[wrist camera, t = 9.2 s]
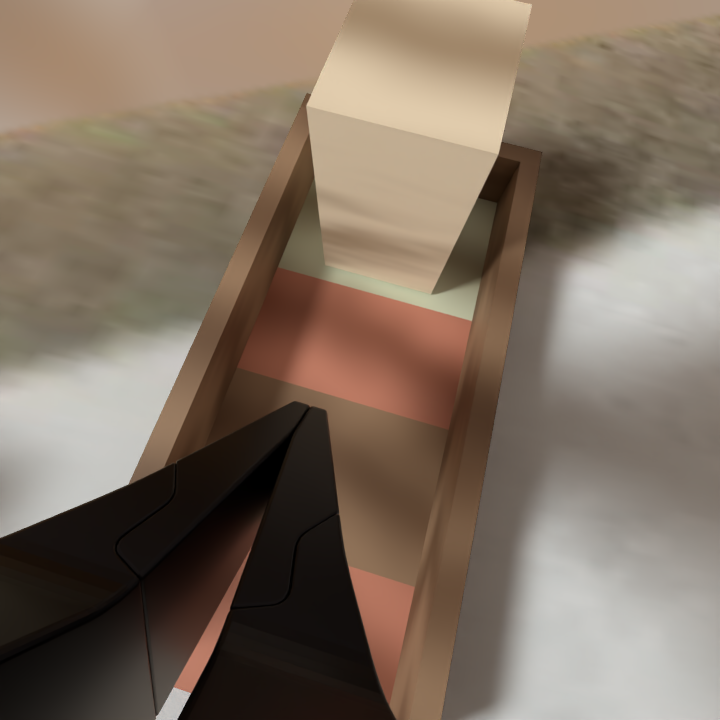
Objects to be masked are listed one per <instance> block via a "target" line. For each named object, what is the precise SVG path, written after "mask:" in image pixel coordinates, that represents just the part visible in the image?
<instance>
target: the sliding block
mask: <svg viewBox="0 0 720 720" xmlns="http://www.w3.org/2000/svg"><path fill="white" fill-rule="evenodd" d="M531 7H532V5H531V4H527V3H522V2H518V1H514V0H354V1H353V3H352V5H351V8H350V10H349V12H348V14H347V17H346V19H345V21H344V23H343V25H342V28H341V30H340V32H339V34H338V36H337V39H336V41H335V43H334V45H333V48H332V50H331V52H330V54H329V56H328V59H327V61H326V63H325V65H324V68H323V70H322V72H321V74H320V77H319V79H318V81H317V83H316V85H315V88H314V90H313V92H312V94H311V97H310V99H309V101H308V103H307V105H306V108H307V116H308V125H309V133H310V142H311V150H312V159H313V167H314V176H315V184H316V193H317V201H318V210H319V218H320V227H321V235H322V244H323V252H324V260H325V265H326V266H330V267H333V268H337V269H341V270H344V271H348V272H352V273H355V274H359V275H363V276H366V277H370V278H373V279H377V280H381V281H384V282H388V283H392V284H395V285H399V286H402V287H406V288H410V289H413V290H417V291H421V292H424V293H428V294H431V293H432V291H433V289H434V287H435V285H436V283H437V281H438V278H439V276H440V274H441V272H442V270H443V268H444V266H445V264H446V262H447V260H448V258H449V256H450V254H451V252H452V250H453V247H454V245H455V243H456V241H457V239H458V237H459V235H460V233H461V231H462V229H463V227H464V225H465V223H466V221H467V218H468V216H469V214H470V212H471V210H472V208H473V206H474V204H475V202H476V200H477V198H478V196H479V194H480V192H481V190H482V187H483V185H484V183H485V181H486V179H487V177H488V175H489V173H490V171H491V169H492V167H493V165H494V163H495V161H496V158H497V156H498V154H499V150H500V145H501V141H502V137H503V132H504V128H505V123H506V119H507V114H508V110H509V105H510V101H511V96H512V92H513V87H514V83H515V79H516V74H517V70H518V65H519V61H520V56H521V52H522V47H523V43H524V38H525V34H526V29H527V25H528V20H529V16H530V12H531Z"/></svg>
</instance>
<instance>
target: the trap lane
mask: <svg viewBox="0 0 720 720" xmlns="http://www.w3.org/2000/svg"><path fill="white" fill-rule="evenodd" d="M310 97H311V94H308V93H307V94H306V96H305V98H304V100H303V103H302V105H301V107H300V109H299V111H298V114H297V116H296V118H295V120H294V122H293V125H292V127H291V129H290V131H289V133H288V136H287V138H286V140H285V142H284V144H283V147H282V149H281V151H280V153H279V155H278V157H277V160H276V162H275V164H274V166H273V168H272V171H271V173H270V175H269V177H268V179H267V182H266V184H265V186H264V188H263V190H262V193H261V195H260V197H259V199H258V201H257V204H256V206H255V208H254V210H253V212H252V215H251V217H250V219H249V221H248V223H247V226H246V228H245V230H244V232H243V234H242V237H241V239H240V241H239V243H238V245H237V247H236V250H235V252H234V254H233V256H232V258H231V261H230V263H229V265H228V267H227V269H226V272H225V274H224V276H223V278H222V280H221V283H220V285H219V287H218V289H217V291H216V294H215V296H214V298H213V300H212V302H211V305H210V307H209V309H208V311H207V313H206V316H205V318H204V320H203V322H202V324H201V326H200V329H199V331H198V333H197V335H196V337H195V340H194V342H193V344H192V346H191V348H190V351H189V353H188V355H187V357H186V359H185V362H184V364H183V366H182V368H181V370H180V373H179V375H178V377H177V379H176V381H175V384H174V386H173V388H172V390H171V392H170V395H169V397H168V399H167V401H166V403H165V405H164V408H163V410H162V412H161V414H160V416H159V419H158V421H157V423H156V425H155V427H154V430H153V432H152V434H151V436H150V438H149V441H148V443H147V445H146V447H145V449H144V452H143V454H142V456H141V458H140V460H139V463H138V465H137V467H136V469H135V471H134V474H133V476H132V478H131V480H130V482H129V484H131V483H133V482H135V481H137V480H139V479H141V478H143V477H145V476H147V475H149V474H151V473H154V472H156V471H158V470H160V469H162V468H163V467H165V466H167V465H169V464H171V463H175V464H176V461H178V460H179V459H181V458H183V457H185V456H187V455H189V454H191V453H193V452H195V451H197V450H199V449H201V448H203V447H205V446H207V445H209V444H211V443H213V442H215V441H217V440H219V439H221V438H223V437H224V436H226V435H228V434H230V433H232V432H234V431H236V430H238V429H240V428H242V427H244V426H246V425H248V424H250V423H252V422H254V421H256V420H258V419H260V418H262V417H264V416H266V415H268V414H269V413H271V412H273V411H275V410H277V409H279V408H281V407H283V406H285V405H287V404H289V403H291V402H293V401H298V402H301V403H305V404H308V405H309V406H310V407H312V406H315V407H318V408H321V409H325V410H326V411H327V415H328V423H329V431H330V439H331V448H332V456H333V464H334V472H335V481H336V489H337V497H338V505H339V515H340V520H341V528H342V535H343V541H344V547H345V554H346V558H347V563H348V567H349V571H350V576H351V580H352V584H353V588H354V591H355V595H356V599H357V603H358V606H359V610H360V614H361V618H362V621H363V625H364V629H365V633H366V636H367V640H368V644H369V648H370V651H371V655H372V658H373V662H374V665H375V669H376V672H377V675H378V678H379V681H380V684H381V687H382V689H383V692H384V694H385V697H386V699H387V702H388V704H389V706H390V708H391V710H392V712H393V714H394V716H395V718H396V719H397V720H441V716H442V710H443V704H444V699H445V693H446V688H447V682H448V676H449V671H450V665H451V660H452V654H453V648H454V643H455V637H456V632H457V626H458V620H459V615H460V609H461V604H462V598H463V592H464V587H465V581H466V576H467V570H468V564H469V559H470V553H471V548H472V542H473V537H474V531H475V525H476V520H477V514H478V509H479V503H480V497H481V492H482V486H483V481H484V475H485V469H486V464H487V458H488V453H489V447H490V441H491V436H492V430H493V425H494V419H495V413H496V408H497V402H498V397H499V391H500V385H501V380H502V374H503V369H504V363H505V357H506V352H507V346H508V341H509V335H510V329H511V324H512V318H513V313H514V307H515V301H516V296H517V290H518V285H519V279H520V273H521V268H522V262H523V257H524V251H525V245H526V240H527V234H528V229H529V223H530V217H531V212H532V206H533V201H534V195H535V189H536V184H537V178H538V173H539V167H540V161H541V156H542V152H540V151H536V150H532V149H528V148H524V147H520V146H516V145H512V144H508V143H504V142H501V145H500V150H499V154H498V156H497V158H496V161H495V163H494V165H493V167H492V169H491V171H490V173H489V175H488V177H487V179H486V181H485V183H484V185H483V187H482V190H481V192H480V194H479V196H478V198H477V200H476V202H475V204H474V206H473V208H472V210H471V212H470V214H469V216H468V218H467V221H466V223H465V225H464V227H463V229H462V231H461V233H460V235H459V237H458V239H457V241H456V243H455V245H454V247H453V250H452V252H451V254H450V256H449V258H448V260H447V262H446V264H445V266H444V268H443V270H442V272H441V274H440V276H439V278H438V281H437V283H436V285H435V287H434V289H433V291H432V293H431V294H428V293H424V292H421V291H417V290H413V289H410V288H406V287H402V286H399V285H395V284H392V283H388V282H384V281H381V280H377V279H373V278H370V277H366V276H363V275H359V274H355V273H352V272H348V271H344V270H341V269H337V268H333V267H330V266H326V265H325V260H324V252H323V244H322V235H321V227H320V218H319V210H318V201H317V193H316V184H315V176H314V167H313V159H312V150H311V142H310V133H309V125H308V116H307V108H306V105H307V103H308V101H309V99H310ZM129 484H128V485H129ZM251 548H252V547H251ZM250 550H251V549H250ZM249 553H250V551H249V552H248V554H247V556H246V558H245V560H244V561H243V563H242V565H241V567H240V569H239V570H238V572H237V574H236V576H235V578H234V579H233V581H232V583H231V585H230V586H229V588H228V590H227V592H226V594H225V595H224V597H223V599H222V601H221V603H220V604H219V606H218V608H217V610H216V612H215V613H214V615H213V617H212V619H211V621H210V622H209V624H208V626H207V628H206V630H205V631H204V633H203V635H202V637H201V639H200V640H199V642H198V644H197V646H196V648H195V649H194V651H193V653H192V655H191V657H190V658H189V660H188V662H187V664H186V665H185V667H184V669H183V671H182V673H181V674H180V676H179V678H178V680H177V682H176V683H175V685H174V687H175V688H178V689H181V690H184V691H187V692H190V693H192V691H193V689H194V687H195V685H196V683H197V681H198V679H199V677H200V675H201V674H202V672H203V670H204V668H205V666H206V664H207V662H208V660H209V658H210V656H211V654H212V652H213V650H214V647H215V645H216V643H217V640H218V638H219V635H220V633H221V630H222V628H223V625H224V623H225V620H226V617H227V614H228V612H229V611H230V606H231V603H232V600H233V598H234V595H235V592H236V589H237V586H238V584H239V581H240V578H241V575H242V573H243V570H244V567H245V564H246V562H247V559H248V556H249Z"/></svg>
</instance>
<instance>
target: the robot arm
mask: <svg viewBox="0 0 720 720" xmlns="http://www.w3.org/2000/svg"><path fill="white" fill-rule="evenodd" d="M251 547H252V548H251ZM250 549H251V550H250ZM249 551H250V553H249V556H248V559H247V562H246V564H245V567H244V570H243V573H242V575H241V578H240V581H239V584H238V586H237V589H236V592H235V595H234V598H233V600H232V603H231V606H230V611H229V612H228V614H227V617H226V620H225V623H224V625H223V628H222V630H221V633H220V635H219V638H218V640H217V643H216V645H215V647H214V650H213V652H212V654H211V656H210V658H209V660H208V662H207V664H206V666H205V668H204V670H203V672H202V674H201V675H200V677H199V679H198V681H197V683H196V685H195V687H194V689H193V691H192V693H191V695H190V697H189V698H188V700H187V702H186V704H185V706H184V708H183V710H182V712H181V714H180V716H179V718H178V720H397V719H396V718H395V716H394V714H393V712H392V710H391V708H390V706H389V704H388V702H387V699H386V697H385V694H384V692H383V689H382V687H381V684H380V681H379V678H378V675H377V672H376V669H375V665H374V662H373V658H372V655H371V651H370V648H369V644H368V640H367V636H366V633H365V629H364V625H363V621H362V618H361V614H360V610H359V606H358V603H357V599H356V595H355V591H354V588H353V584H352V580H351V576H350V571H349V567H348V563H347V558H346V554H345V547H344V541H343V535H342V528H341V520H340V515H339V505H338V497H337V489H336V481H335V472H334V464H333V456H332V448H331V439H330V431H329V423H328V415H327V411H326V410H325V409H321V408H318V407H315V406H312V407H310V406H309V405H308V404H305V403H301V402H298V401H293V402H291V403H289V404H287V405H285V406H283V407H281V408H279V409H277V410H275V411H273V412H271V413H269V414H268V415H266V416H264V417H262V418H260V419H258V420H256V421H254V422H252V423H250V424H248V425H246V426H244V427H242V428H240V429H238V430H236V431H234V432H232V433H230V434H228V435H226V436H224V437H223V438H221V439H219V440H217V441H215V442H213V443H211V444H209V445H207V446H205V447H203V448H201V449H199V450H197V451H195V452H193V453H191V454H189V455H187V456H185V457H183V458H181V459H179V460H178V461H176V464H175V463H171V464H169V465H167V466H165V467H163V468H162V469H160V470H158V471H156V472H154V473H151V474H149V475H147V476H145V477H143V478H141V479H139V480H137V481H135V482H133V483H131V484H129V485H126V486H124V487H122V488H119V489H117V490H115V491H113V492H110V493H108V494H106V495H103V496H101V497H99V498H96V499H94V500H92V501H89V502H87V503H84V504H82V505H80V506H77V507H75V508H72V509H70V510H67V511H65V512H63V513H60V514H58V515H55V516H53V517H51V518H48V519H46V520H43V521H41V522H38V523H36V524H34V525H31V526H29V527H26V528H24V529H21V530H19V531H17V532H14V533H12V534H9V535H7V536H4V537H1V538H0V720H155V719H156V716H157V715H158V714H159V712H160V710H161V709H162V707H163V705H164V703H165V701H166V700H167V698H168V696H169V694H170V692H171V691H172V689H173V687H174V685H175V683H176V682H177V680H178V678H179V676H180V674H181V673H182V671H183V669H184V667H185V665H186V664H187V662H188V660H189V658H190V657H191V655H192V653H193V651H194V649H195V648H196V646H197V644H198V642H199V640H200V639H201V637H202V635H203V633H204V631H205V630H206V628H207V626H208V624H209V622H210V621H211V619H212V617H213V615H214V613H215V612H216V610H217V608H218V606H219V604H220V603H221V601H222V599H223V597H224V595H225V594H226V592H227V590H228V588H229V586H230V585H231V583H232V581H233V579H234V578H235V576H236V574H237V572H238V570H239V569H240V567H241V565H242V563H243V561H244V560H245V558H246V556H247V554H248V552H249Z"/></svg>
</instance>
